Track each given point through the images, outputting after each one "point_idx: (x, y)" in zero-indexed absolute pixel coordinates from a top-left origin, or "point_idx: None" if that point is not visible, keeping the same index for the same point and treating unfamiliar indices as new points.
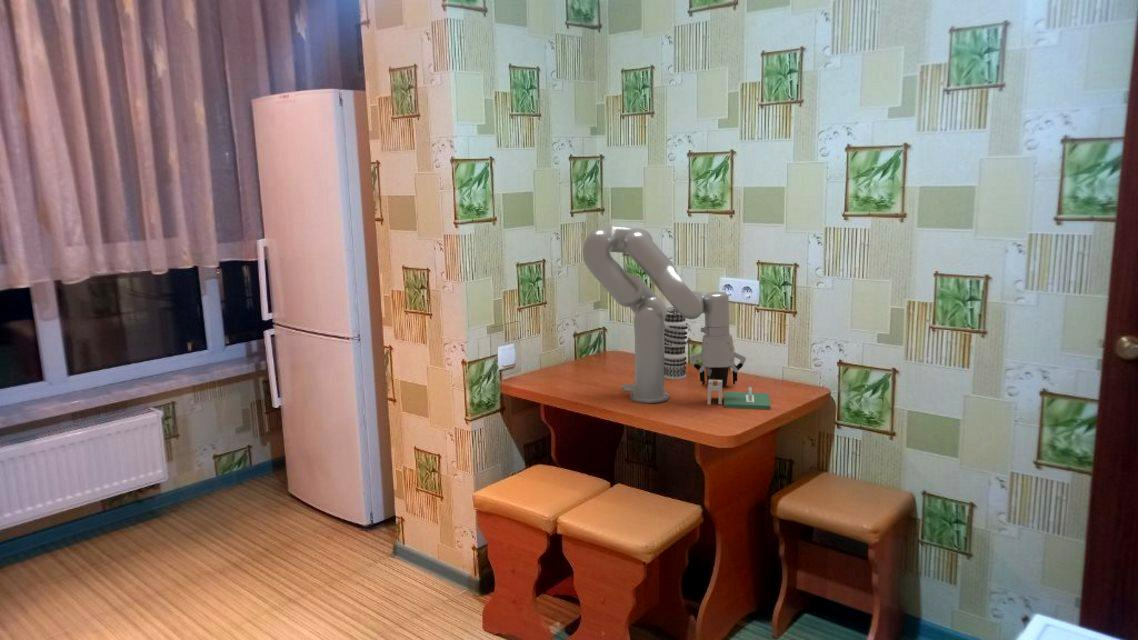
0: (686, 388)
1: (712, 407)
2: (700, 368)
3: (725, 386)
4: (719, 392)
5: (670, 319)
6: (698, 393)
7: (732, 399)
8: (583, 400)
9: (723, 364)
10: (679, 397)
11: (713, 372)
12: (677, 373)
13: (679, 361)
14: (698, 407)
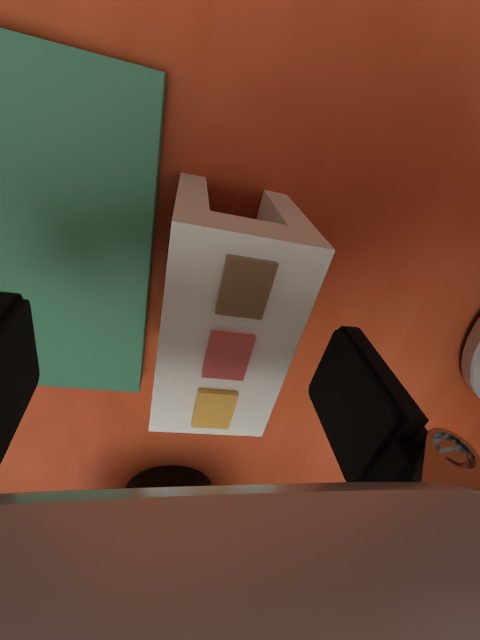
0: (315, 453)
1: (270, 91)
2: (476, 481)
3: (130, 481)
4: (200, 205)
5: None
6: (282, 397)
7: (82, 222)
8: None
9: (81, 573)
10: (406, 336)
11: None
12: None
13: None
14: (384, 101)
